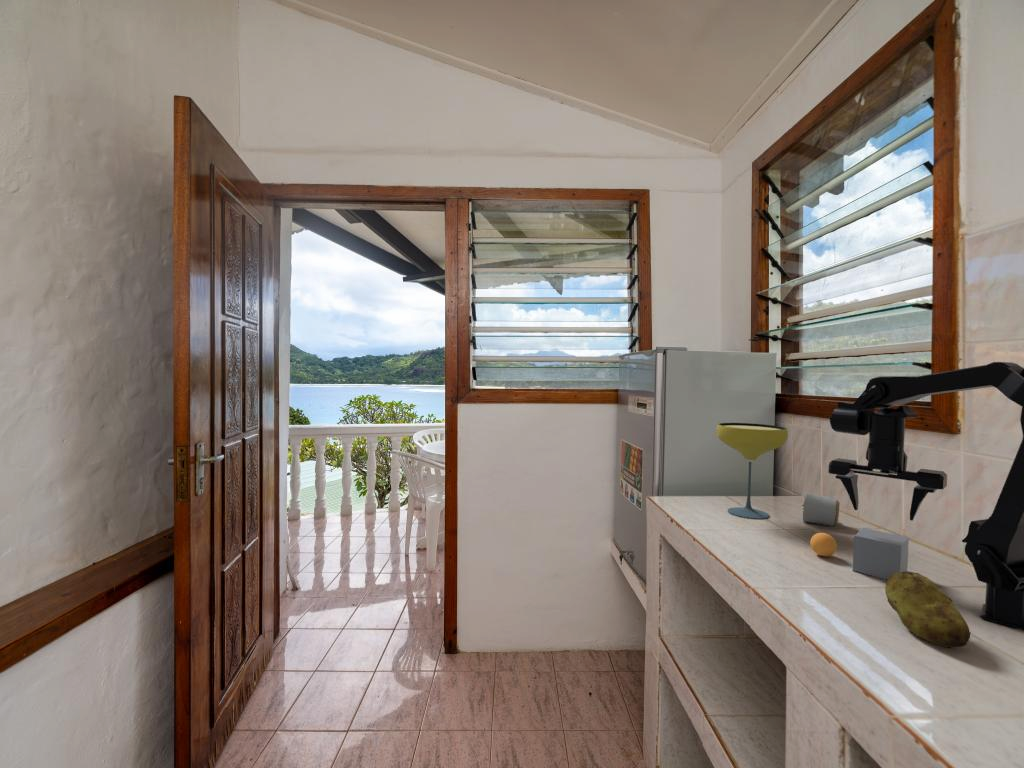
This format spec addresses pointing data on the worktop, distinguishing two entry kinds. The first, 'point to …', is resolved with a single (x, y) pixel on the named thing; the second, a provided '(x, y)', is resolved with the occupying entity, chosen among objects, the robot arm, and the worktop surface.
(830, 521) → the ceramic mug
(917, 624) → the potato
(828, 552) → the ball
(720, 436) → the cocktail glass
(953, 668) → the worktop surface
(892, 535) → the plain gray cube
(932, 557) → the worktop surface
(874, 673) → the worktop surface
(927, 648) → the worktop surface
